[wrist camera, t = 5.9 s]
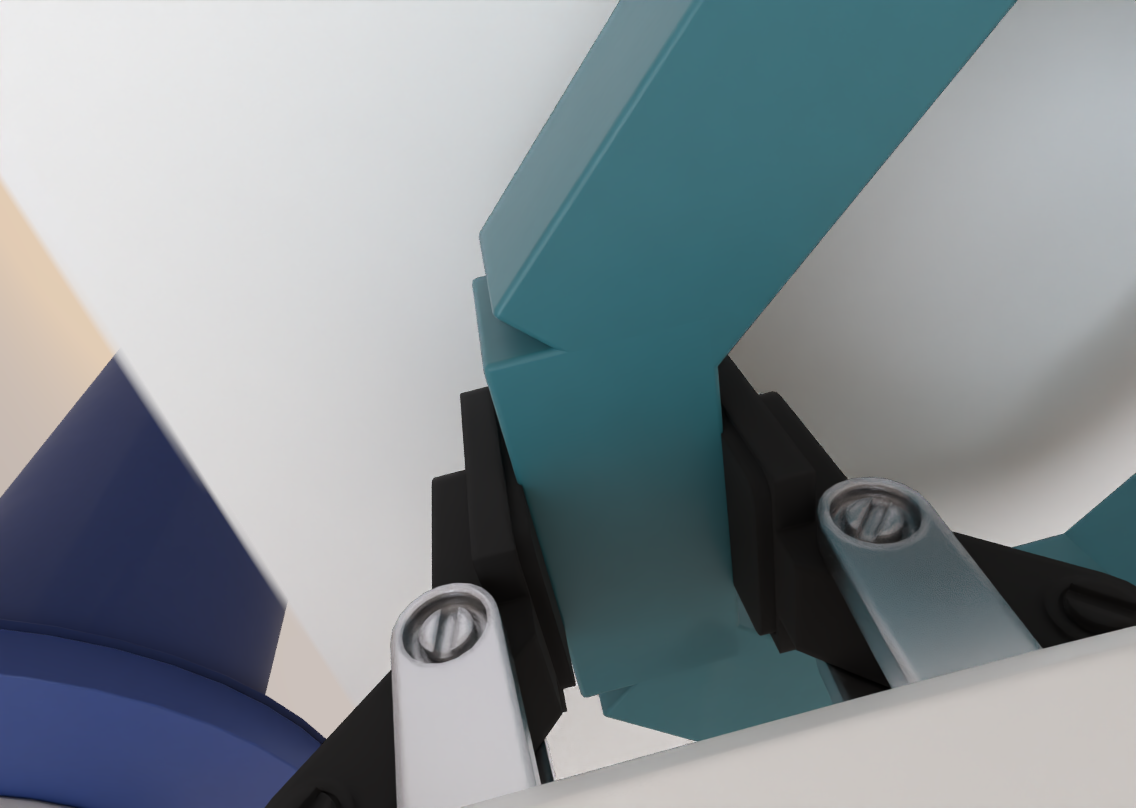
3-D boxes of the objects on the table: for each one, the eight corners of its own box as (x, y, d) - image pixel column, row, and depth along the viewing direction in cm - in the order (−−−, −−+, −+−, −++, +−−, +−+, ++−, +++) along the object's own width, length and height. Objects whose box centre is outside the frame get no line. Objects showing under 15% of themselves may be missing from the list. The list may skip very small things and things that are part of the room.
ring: (601, 731, 17) (628, 853, 15) (333, -200, 7) (289, -271, 5) (1277, 548, 18) (1406, 637, 15) (1840, -532, 8) (2418, -734, 6)
